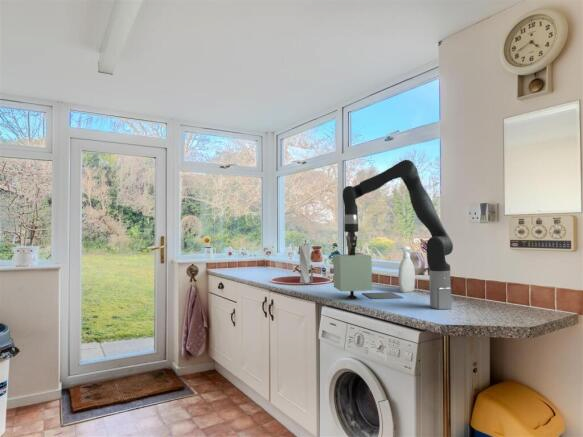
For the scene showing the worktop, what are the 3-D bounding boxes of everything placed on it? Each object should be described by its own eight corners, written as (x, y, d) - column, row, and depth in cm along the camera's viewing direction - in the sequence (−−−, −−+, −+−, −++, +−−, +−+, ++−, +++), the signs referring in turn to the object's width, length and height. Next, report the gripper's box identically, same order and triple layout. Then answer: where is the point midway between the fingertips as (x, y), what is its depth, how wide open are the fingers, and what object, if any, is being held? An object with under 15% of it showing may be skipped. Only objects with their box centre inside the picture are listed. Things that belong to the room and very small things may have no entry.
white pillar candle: (306, 284, 263) (306, 243, 264) (297, 283, 268) (296, 243, 269) (313, 282, 269) (313, 242, 270) (304, 282, 274) (303, 242, 275)
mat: (403, 298, 205) (403, 297, 205) (371, 299, 203) (371, 298, 203) (391, 293, 222) (391, 292, 222) (362, 293, 220) (362, 293, 220)
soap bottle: (407, 289, 234) (406, 245, 235) (418, 291, 228) (418, 245, 229) (392, 292, 225) (392, 246, 226) (405, 293, 219) (404, 246, 220)
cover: (372, 290, 199) (371, 246, 200) (340, 291, 198) (340, 246, 198) (362, 286, 216) (362, 245, 217) (333, 286, 214) (333, 245, 215)
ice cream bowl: (362, 300, 200) (361, 271, 201) (340, 299, 203) (340, 271, 203) (362, 296, 211) (362, 269, 211) (342, 296, 213) (341, 269, 213)
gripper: (361, 222, 201) (362, 255, 201) (354, 223, 216) (354, 254, 215) (347, 222, 201) (348, 255, 200) (341, 223, 215) (341, 254, 214)
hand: (351, 254), depth 207 cm, fingers closed on cover, 4 cm apart
